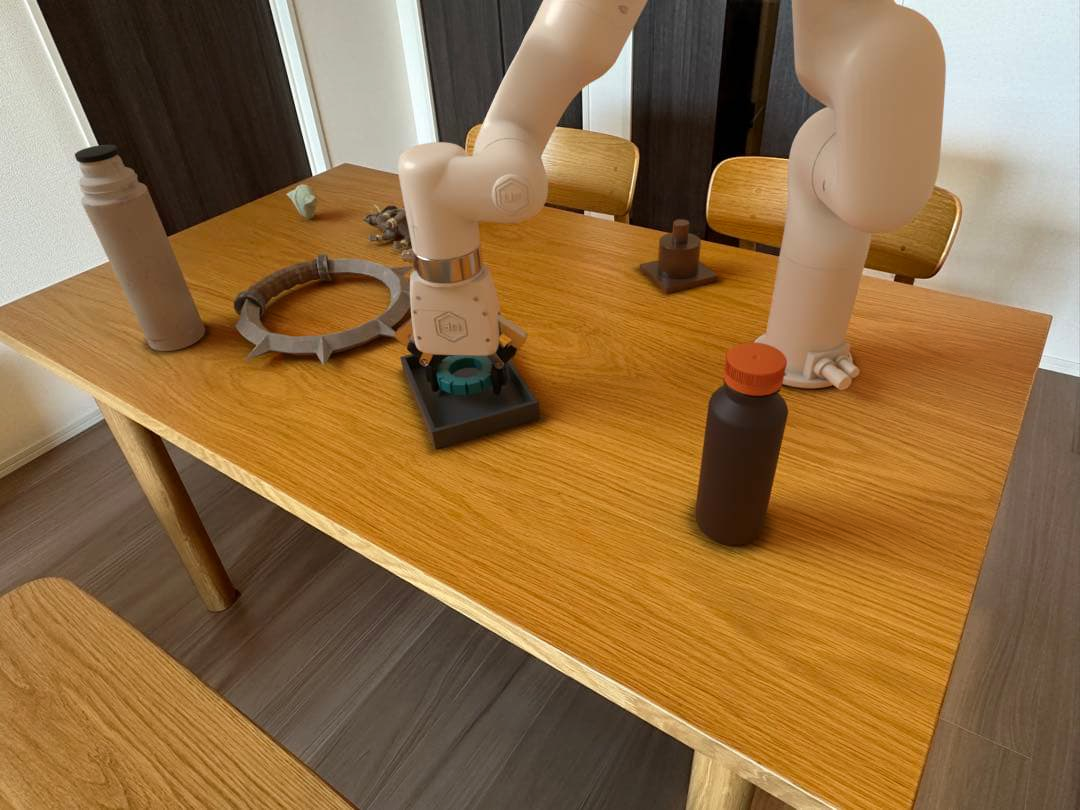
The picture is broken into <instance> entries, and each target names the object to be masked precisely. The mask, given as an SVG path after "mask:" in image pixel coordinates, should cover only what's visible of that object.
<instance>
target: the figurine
mask: <svg viewBox="0 0 1080 810" xmlns="http://www.w3.org/2000/svg"><path fill="white" fill-rule="evenodd" d="M370 206H371V207H370V212H371V213H370V214H367V215H365V216H364V217H363V219H362V221H364V222H365V223H367V224H368V225H369V226H370V227H373V228H378V229H380V230H382V233H385V234H384V235H381V234H376V235H373V234H372V233H368V236H367V237H368V238H367V239H368V240H369V243H371V242H377V243H382V242H383V241H390V240H392V239H395V238H397V237H398V236H400V237H403V239H401V241H400V242H399V241H396V240H395V241H394V240H393V246H392V247H394V250H399V249H403V250H406V249H408V247H409V245H410V244H411V239H410V233H409V228H408V223H407V218H406V212H405V207H404V203H402V204H401V207H402V209H399V207H397V206H396V205H392V204H389V205H386V206H385V207H383V209H381V208H380V205H377V204H374V203H372V204H370ZM373 206H374V207H375V208H376V209H377V211H376V212H374V213H373V210H372V209H373Z"/></svg>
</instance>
